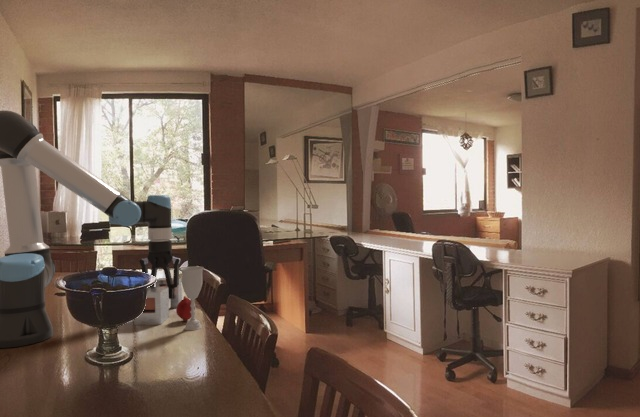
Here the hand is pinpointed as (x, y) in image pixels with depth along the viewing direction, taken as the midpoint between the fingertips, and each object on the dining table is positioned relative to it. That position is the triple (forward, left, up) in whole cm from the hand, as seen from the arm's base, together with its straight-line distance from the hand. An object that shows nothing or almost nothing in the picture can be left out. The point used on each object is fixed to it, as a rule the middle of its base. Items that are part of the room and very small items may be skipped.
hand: (161, 308), depth 149 cm
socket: (+9, 0, -2) cm, 10 cm away
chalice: (-19, -15, -2) cm, 25 cm away
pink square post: (-2, 0, +2) cm, 3 cm away
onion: (-11, -11, -2) cm, 16 cm away
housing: (-10, 0, -2) cm, 10 cm away
